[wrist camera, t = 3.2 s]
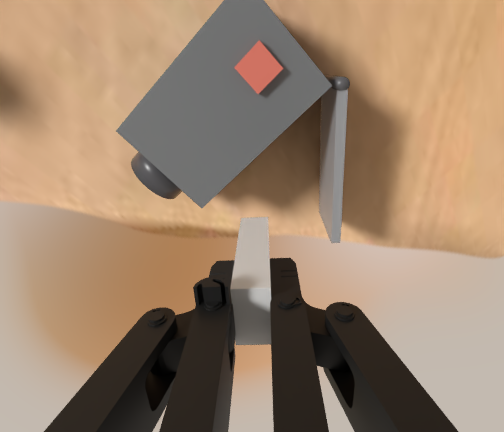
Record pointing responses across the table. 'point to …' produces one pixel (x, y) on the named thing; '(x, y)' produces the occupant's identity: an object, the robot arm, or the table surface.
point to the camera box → (221, 102)
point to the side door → (333, 154)
